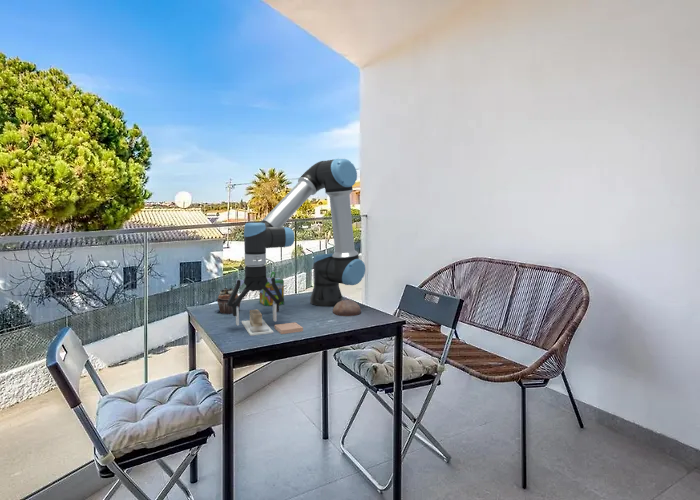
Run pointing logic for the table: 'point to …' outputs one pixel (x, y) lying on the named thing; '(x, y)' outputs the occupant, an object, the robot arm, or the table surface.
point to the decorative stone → (347, 308)
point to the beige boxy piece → (257, 322)
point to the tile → (288, 328)
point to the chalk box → (272, 291)
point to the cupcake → (224, 299)
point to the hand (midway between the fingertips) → (256, 322)
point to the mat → (248, 325)
